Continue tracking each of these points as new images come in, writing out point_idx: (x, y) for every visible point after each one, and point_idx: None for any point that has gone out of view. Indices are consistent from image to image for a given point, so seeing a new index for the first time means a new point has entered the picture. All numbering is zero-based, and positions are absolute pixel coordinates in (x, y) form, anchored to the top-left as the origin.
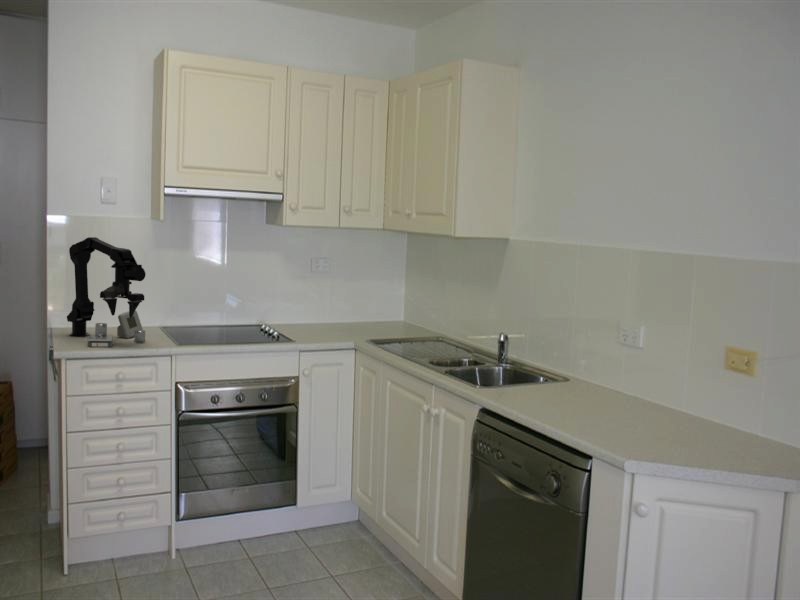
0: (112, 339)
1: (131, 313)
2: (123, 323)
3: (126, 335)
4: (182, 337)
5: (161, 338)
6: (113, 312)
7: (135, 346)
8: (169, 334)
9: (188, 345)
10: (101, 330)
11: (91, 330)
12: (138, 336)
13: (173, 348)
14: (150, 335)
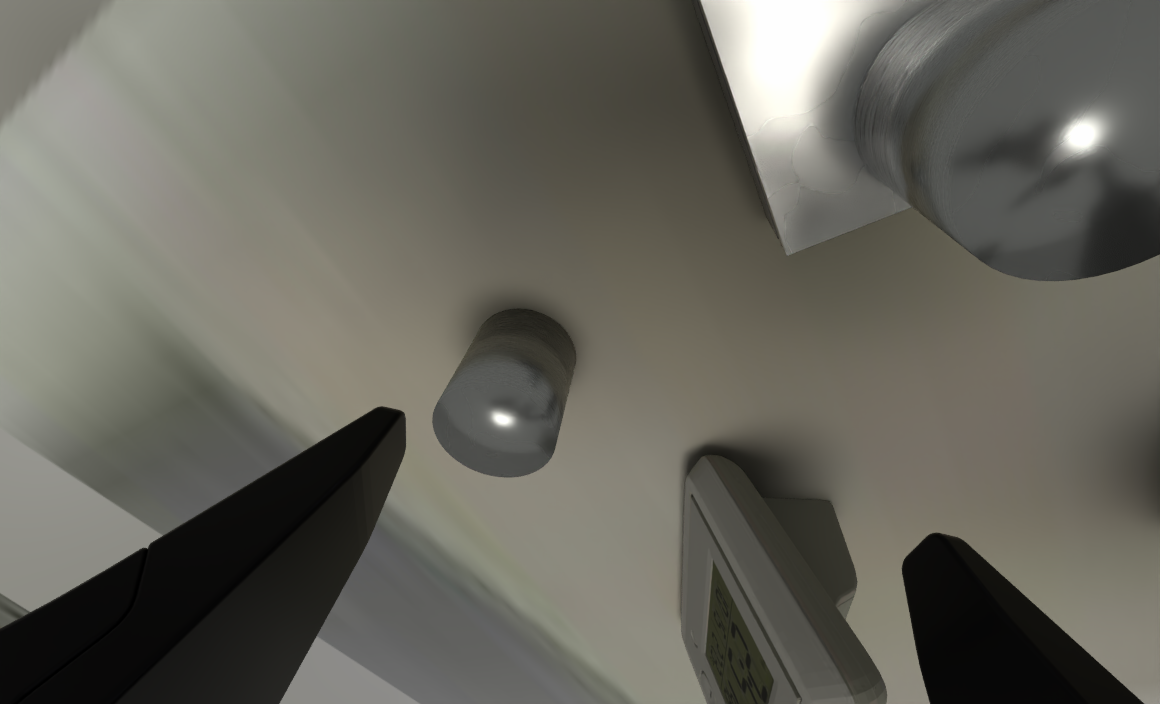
0: (758, 183)
1: (287, 479)
2: (773, 583)
3: (714, 467)
4: (393, 579)
5: (477, 526)
6: (950, 616)
7: (414, 116)
8: (518, 627)
9: (132, 373)
10: (997, 3)
11: (1127, 634)
12: (488, 347)
13: (73, 199)
14: (604, 585)
